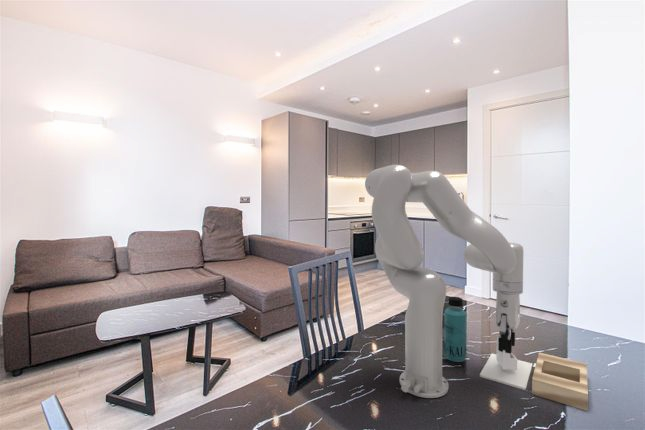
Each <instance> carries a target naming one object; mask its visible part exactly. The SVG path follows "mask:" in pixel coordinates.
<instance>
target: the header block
mask: <svg viewBox="0 0 645 430" xmlns="http://www.w3.org/2000/svg"><path fill="white" fill-rule="evenodd" d="M535 363H536V364H535V367H534V371H533V374H532V381H531V395H534V396H537V397H540V398H544V399H547V400H550V401H554V402H557V403H560V404H564V405H567V406H571V407H573V408H577V409H580V410H584V411H587V412H588V411H589V386H588V385H589V384H588V367H587V366H588V364H587V363H586V362H581V361H578V360H574V359H573V360H572V359H569V358H564V357H560V356H557V355H552V354H551V355H550V354H547V353H542V352H538V355H537V359H536V362H535Z"/></svg>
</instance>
